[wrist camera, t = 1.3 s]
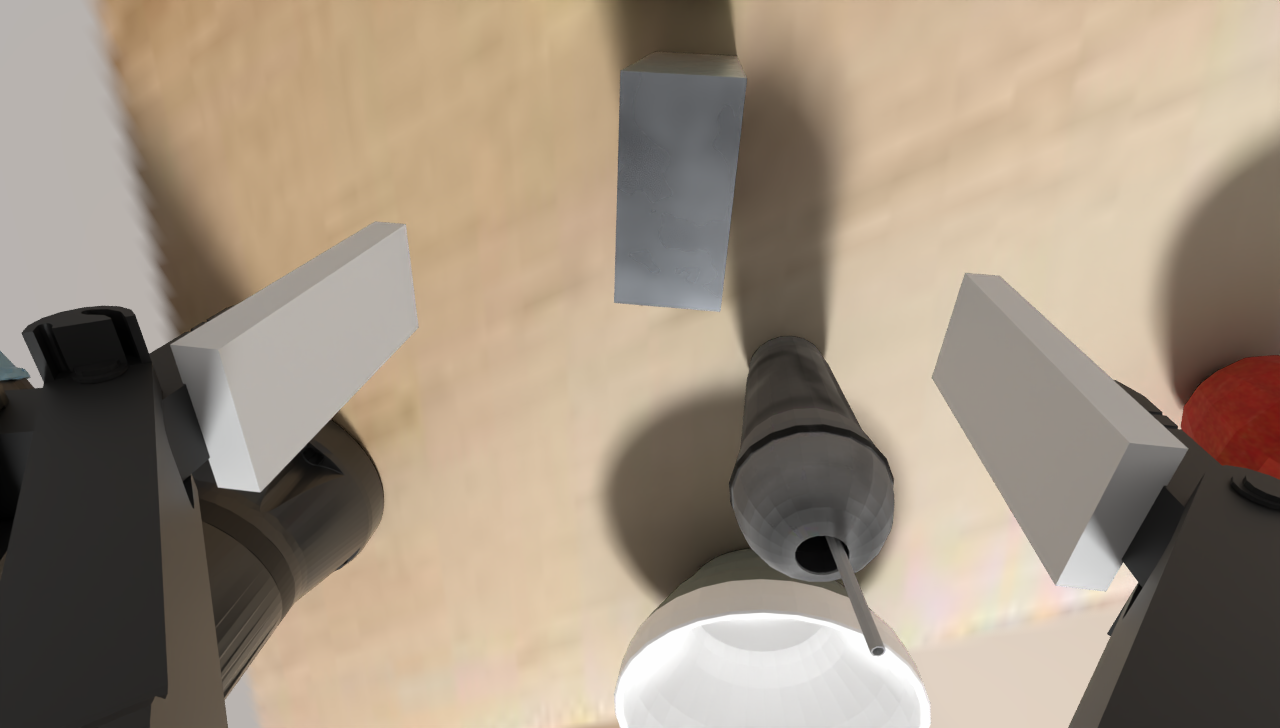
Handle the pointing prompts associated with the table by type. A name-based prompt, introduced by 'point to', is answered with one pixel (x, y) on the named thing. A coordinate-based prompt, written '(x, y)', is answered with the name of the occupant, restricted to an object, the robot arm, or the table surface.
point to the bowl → (764, 657)
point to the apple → (1239, 415)
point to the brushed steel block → (676, 178)
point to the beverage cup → (809, 475)
